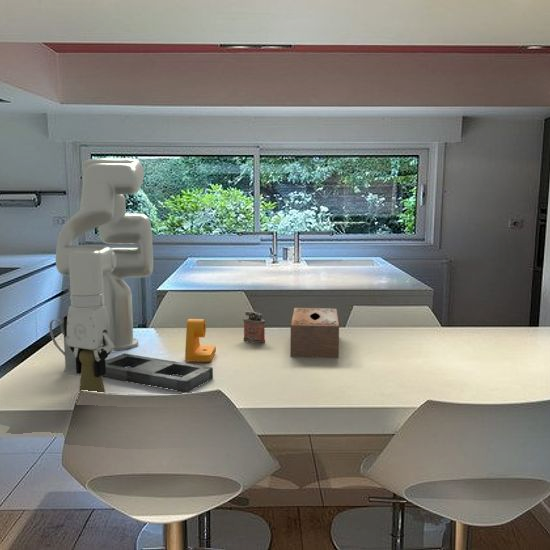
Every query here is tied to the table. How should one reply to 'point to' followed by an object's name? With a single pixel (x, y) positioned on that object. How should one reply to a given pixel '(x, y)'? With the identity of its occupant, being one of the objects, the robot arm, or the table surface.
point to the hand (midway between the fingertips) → (91, 373)
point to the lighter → (254, 328)
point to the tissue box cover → (314, 333)
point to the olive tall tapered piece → (89, 372)
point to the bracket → (197, 342)
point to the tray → (157, 372)
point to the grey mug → (65, 349)
